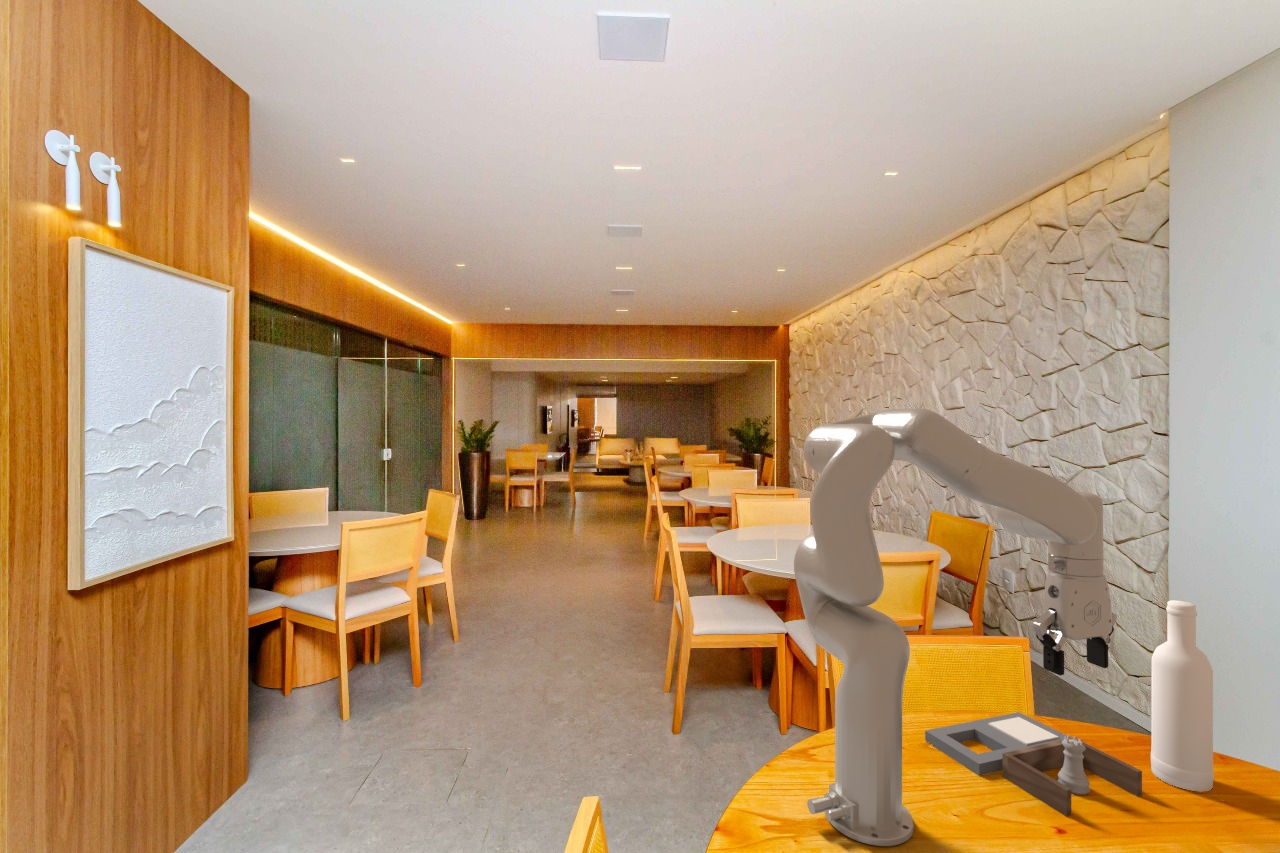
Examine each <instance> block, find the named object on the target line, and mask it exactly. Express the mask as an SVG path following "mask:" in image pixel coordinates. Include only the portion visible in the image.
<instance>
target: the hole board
mask: <svg viewBox="0 0 1280 853" xmlns="http://www.w3.org/2000/svg"><path fill="white" fill-rule="evenodd" d="M1065 736H1066V737H1067V736H1068V735H1067V734H1064V733H1063V732H1060V731H1058V730H1056V729H1054V728H1052V727H1050V726H1048V725H1046V724H1044V723H1042V722H1040V721H1038V720H1036V719H1034V718H1032V717H1030V716H1028V715H1025V714H1024V713H1022V712H1019V711H1018V712H1013V713H1008V714H1003V715H997V716H992V717H987V718H983V719H982V718H981V719H977V720H972V721H966V722H961V723H958V724H957V723H956V724H951V725H945V726H941V727H937V728H931V729H925V730H924V741H925V740H926V741H927V742H926V741H925V742H926V743H928V742H929V743H930V744H929V743H928V744H929V745H931V744H932V745H933V746H932V745H931V746H932V747H934V748H935V747H936V748H935V749H937V750H938V751H940V752H941V753H943V754H945V755H947V756H948V757H949V758H951V759H952V760H954V761H955V762H957V763H958V764H960V765H962V766H964V767H965V768H966V769H968V770H969V771H971V772H973V773H974V774H976V775H977V776H983V775H988V774H992V773H997V772H1000V771H1002V754H1003V753H1007V752H1011V751H1016V750H1020V749H1025V748H1029V747H1034V746H1038V745H1043V744H1047V743H1052V742H1056V741H1061V740H1064V737H1065ZM973 740H974V741H977V742H978V743H980V744H982V745H983V746H985V747H986V748H988V749H991V750H989V751H986V752H981V753H977V752H976V751H974V750H972V749H970V748H969V747H968V746H965V745H963V744H962V743H964V742H965V743H966V742H968V741H973Z"/></svg>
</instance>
